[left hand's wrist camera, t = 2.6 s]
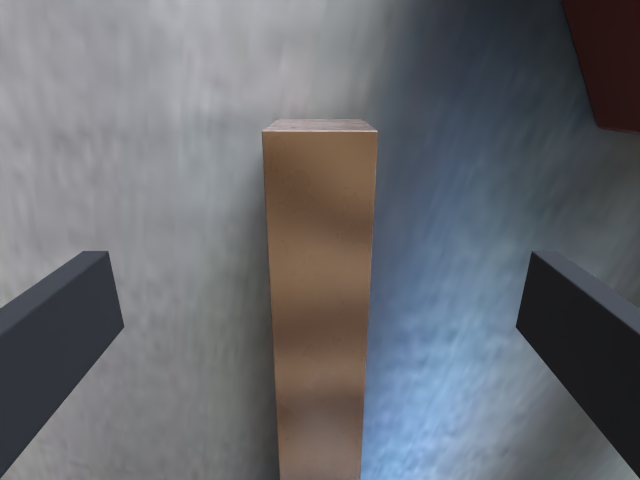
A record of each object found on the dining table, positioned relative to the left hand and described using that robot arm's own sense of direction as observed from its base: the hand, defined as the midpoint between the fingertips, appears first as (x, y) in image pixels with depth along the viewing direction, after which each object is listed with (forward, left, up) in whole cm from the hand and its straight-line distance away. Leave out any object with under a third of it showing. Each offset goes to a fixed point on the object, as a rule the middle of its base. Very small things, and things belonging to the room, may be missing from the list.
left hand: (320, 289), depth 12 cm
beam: (+21, 0, -16) cm, 26 cm away
